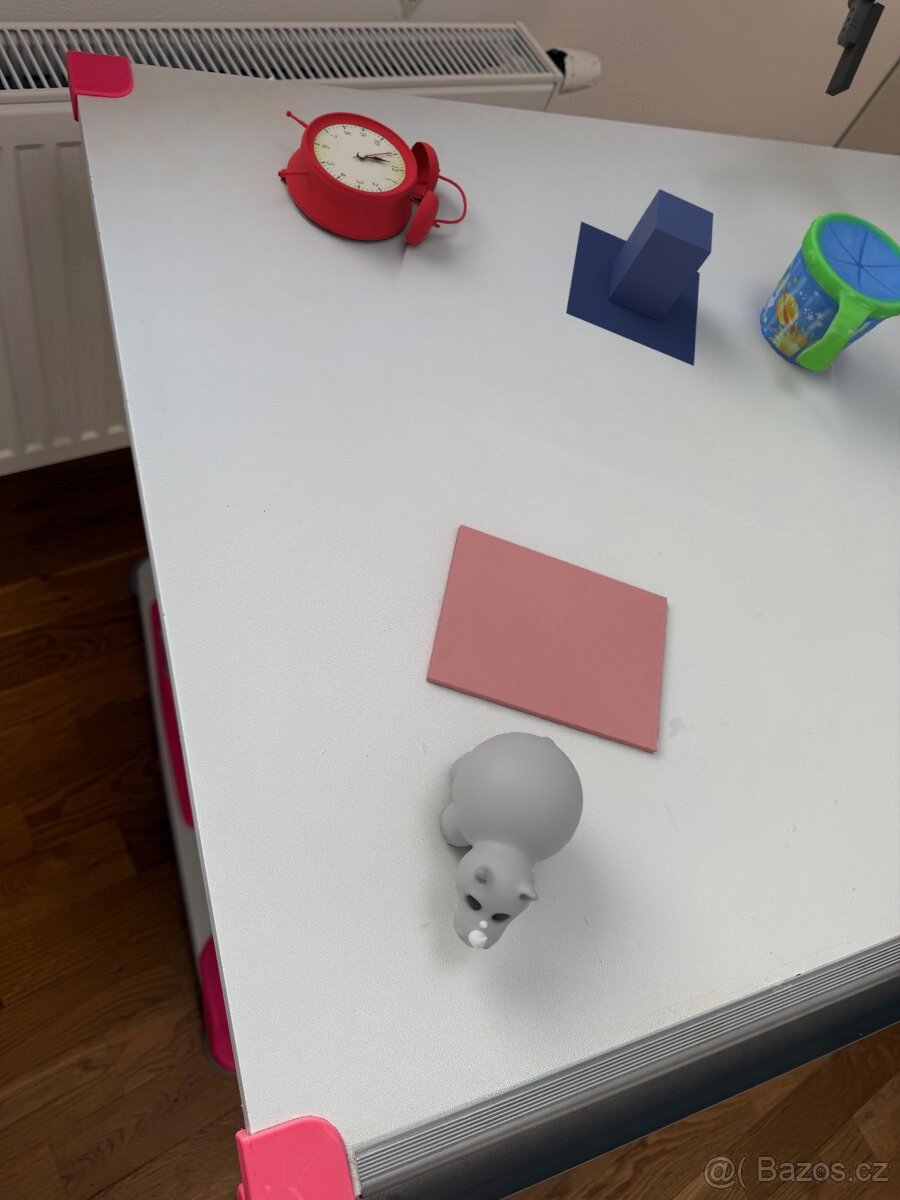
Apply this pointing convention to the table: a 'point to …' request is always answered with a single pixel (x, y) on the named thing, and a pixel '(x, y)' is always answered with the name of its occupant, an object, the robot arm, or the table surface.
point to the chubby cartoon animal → (507, 827)
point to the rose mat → (551, 640)
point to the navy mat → (595, 308)
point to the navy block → (661, 255)
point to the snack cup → (833, 291)
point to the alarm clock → (364, 179)
